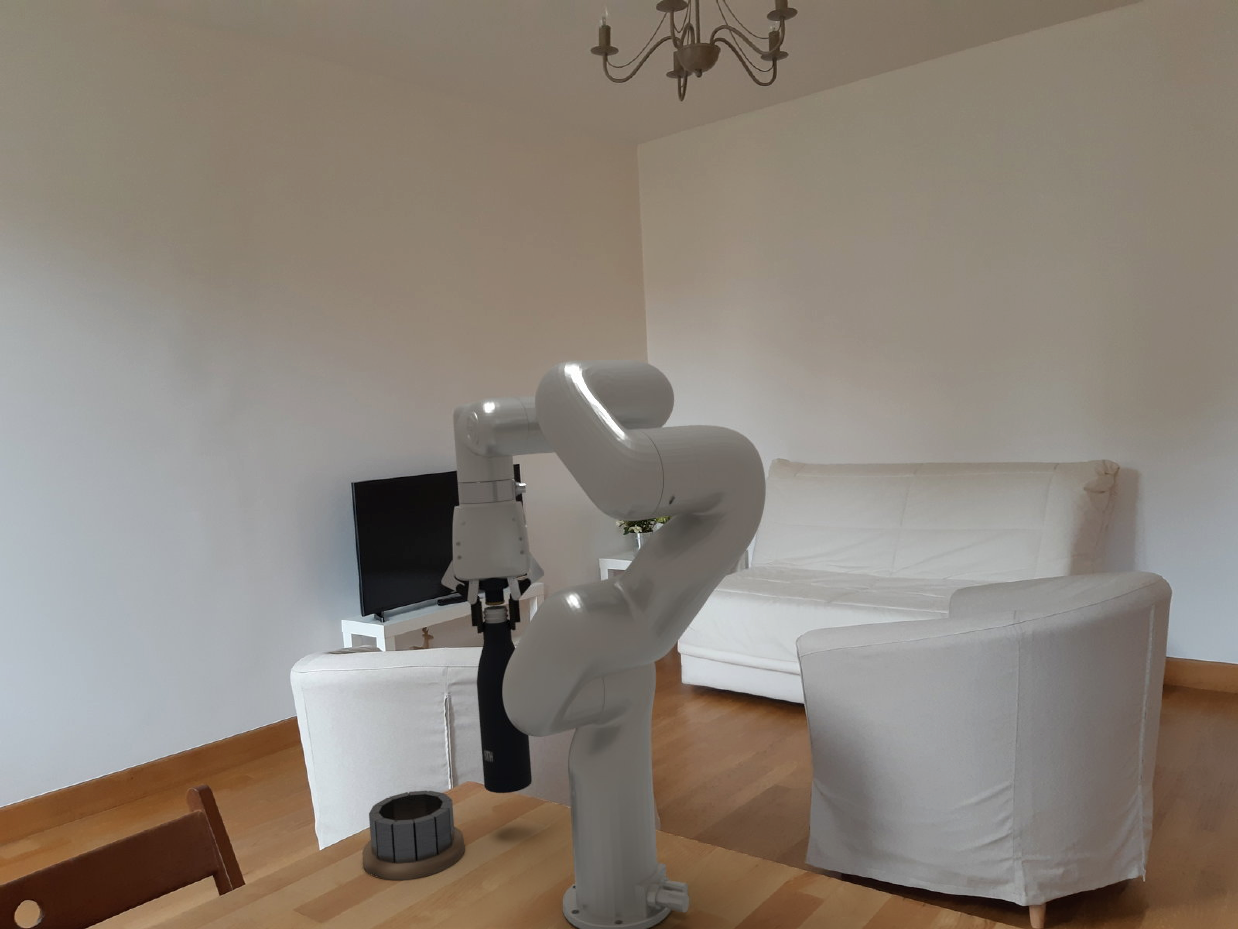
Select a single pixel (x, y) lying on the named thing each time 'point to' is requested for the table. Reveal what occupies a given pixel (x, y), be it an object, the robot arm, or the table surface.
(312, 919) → the table surface
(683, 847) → the table surface
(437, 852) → the bottle stand
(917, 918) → the table surface
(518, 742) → the black tall rounded piece
